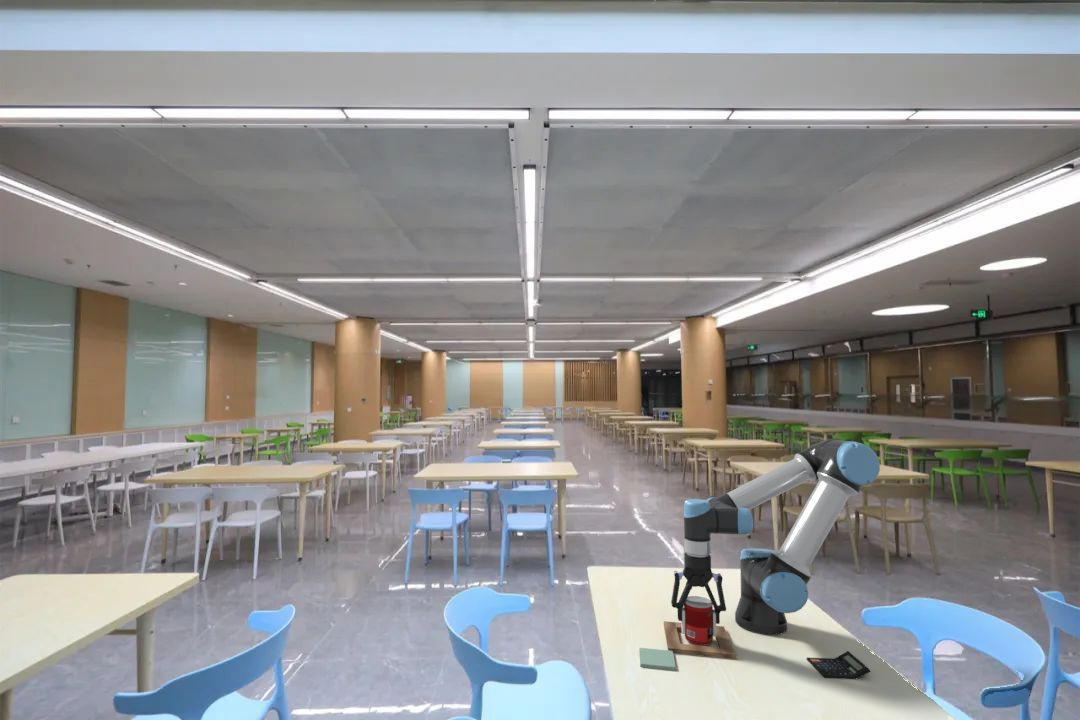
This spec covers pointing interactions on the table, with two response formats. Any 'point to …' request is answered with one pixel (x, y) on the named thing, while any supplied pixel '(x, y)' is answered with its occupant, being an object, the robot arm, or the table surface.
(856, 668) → the calculator
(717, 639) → the pocket board
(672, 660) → the plate
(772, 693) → the table surface
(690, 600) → the canned food
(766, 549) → the robot arm
